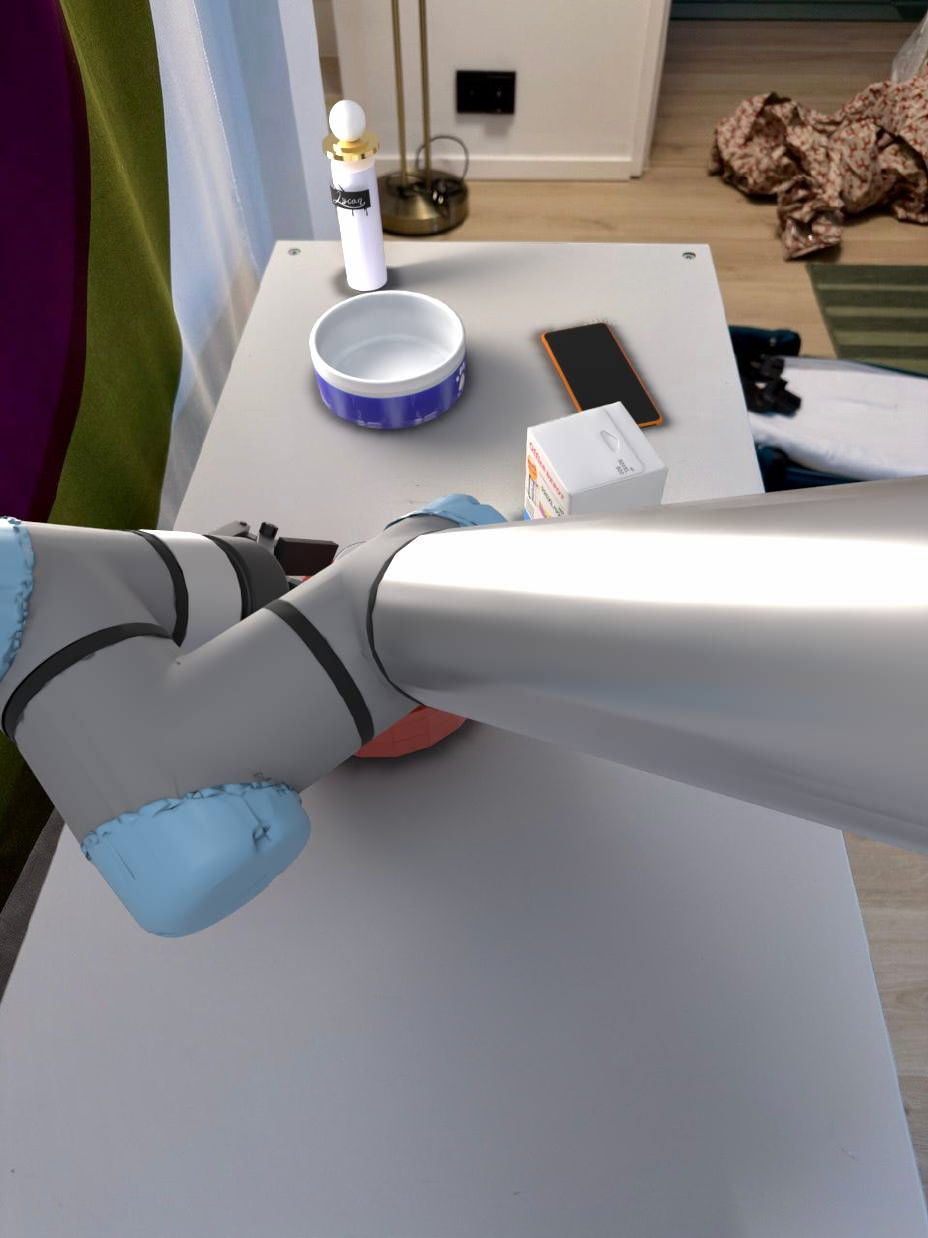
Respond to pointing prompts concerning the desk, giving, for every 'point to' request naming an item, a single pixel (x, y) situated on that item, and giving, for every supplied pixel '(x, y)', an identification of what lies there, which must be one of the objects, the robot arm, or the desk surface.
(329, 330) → the dog bowl
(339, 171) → the perfume bottle
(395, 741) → the red bowl
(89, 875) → the desk surface
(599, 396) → the smartphone
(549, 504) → the ink box
